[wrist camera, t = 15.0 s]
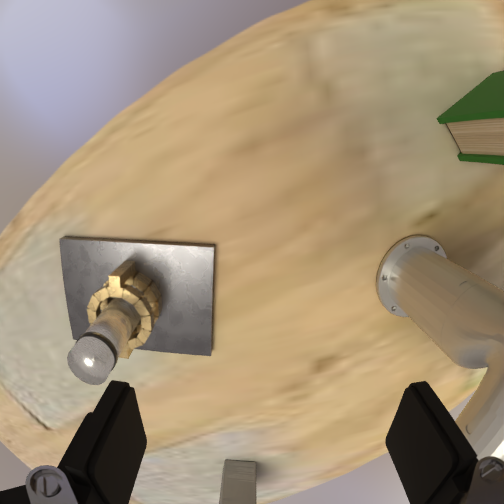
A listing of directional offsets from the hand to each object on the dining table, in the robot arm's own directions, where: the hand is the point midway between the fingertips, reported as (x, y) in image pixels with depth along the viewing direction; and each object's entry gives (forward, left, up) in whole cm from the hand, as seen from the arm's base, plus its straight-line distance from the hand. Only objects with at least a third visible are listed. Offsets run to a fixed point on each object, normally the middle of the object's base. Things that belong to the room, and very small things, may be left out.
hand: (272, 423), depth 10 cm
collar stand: (+15, +10, -32) cm, 37 cm away
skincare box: (-1, +49, -33) cm, 59 cm away
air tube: (+15, +10, -31) cm, 36 cm away
